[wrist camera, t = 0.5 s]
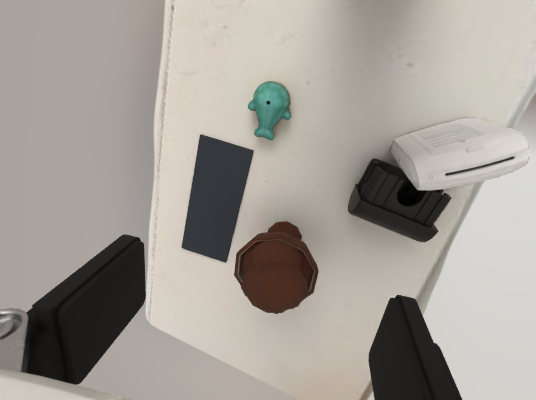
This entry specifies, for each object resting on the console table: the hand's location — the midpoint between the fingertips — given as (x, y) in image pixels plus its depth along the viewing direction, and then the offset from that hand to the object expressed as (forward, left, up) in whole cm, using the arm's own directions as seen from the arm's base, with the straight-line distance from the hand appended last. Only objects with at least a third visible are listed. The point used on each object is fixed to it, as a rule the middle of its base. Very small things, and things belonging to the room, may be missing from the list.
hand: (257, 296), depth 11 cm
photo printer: (-4, +15, -33) cm, 36 cm away
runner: (+14, -11, -33) cm, 37 cm away
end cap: (+4, +13, -33) cm, 36 cm away
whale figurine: (-2, -6, -33) cm, 33 cm away
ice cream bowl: (+16, +1, -33) cm, 36 cm away
